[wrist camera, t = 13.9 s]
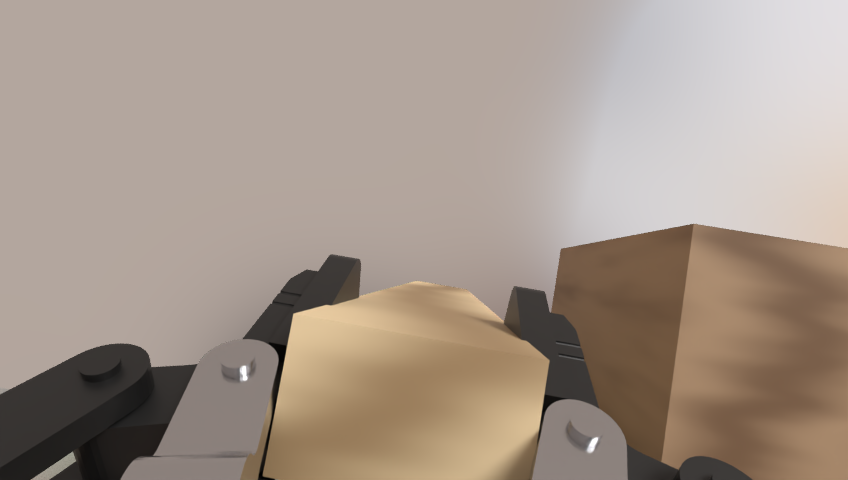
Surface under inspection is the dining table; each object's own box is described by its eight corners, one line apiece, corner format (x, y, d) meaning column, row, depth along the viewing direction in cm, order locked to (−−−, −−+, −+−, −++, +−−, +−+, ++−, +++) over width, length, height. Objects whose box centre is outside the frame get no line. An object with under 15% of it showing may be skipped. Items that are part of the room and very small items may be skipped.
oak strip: (461, 321, 34) (466, 289, 34) (523, 530, 6) (549, 360, 7) (411, 312, 35) (416, 280, 35) (262, 476, 7) (293, 314, 7)
